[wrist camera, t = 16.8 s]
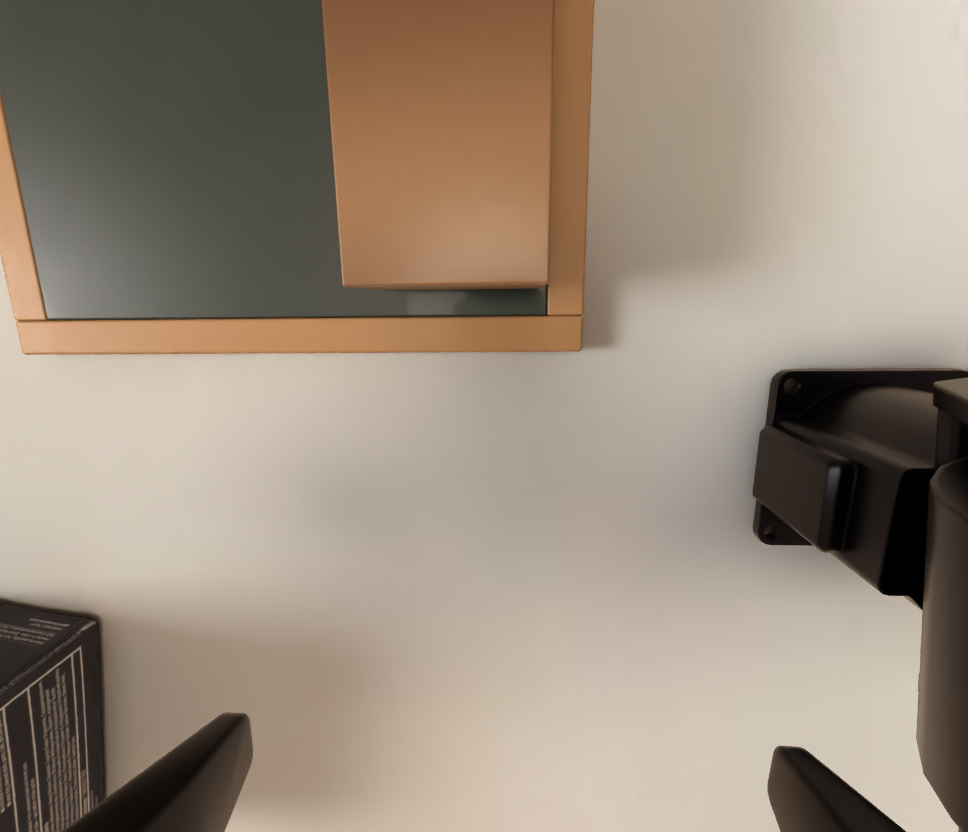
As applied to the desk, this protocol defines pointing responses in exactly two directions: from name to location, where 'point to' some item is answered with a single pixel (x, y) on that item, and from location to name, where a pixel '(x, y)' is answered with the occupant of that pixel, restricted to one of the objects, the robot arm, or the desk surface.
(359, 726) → the desk surface
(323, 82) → the chalkboard
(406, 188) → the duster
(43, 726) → the small box
